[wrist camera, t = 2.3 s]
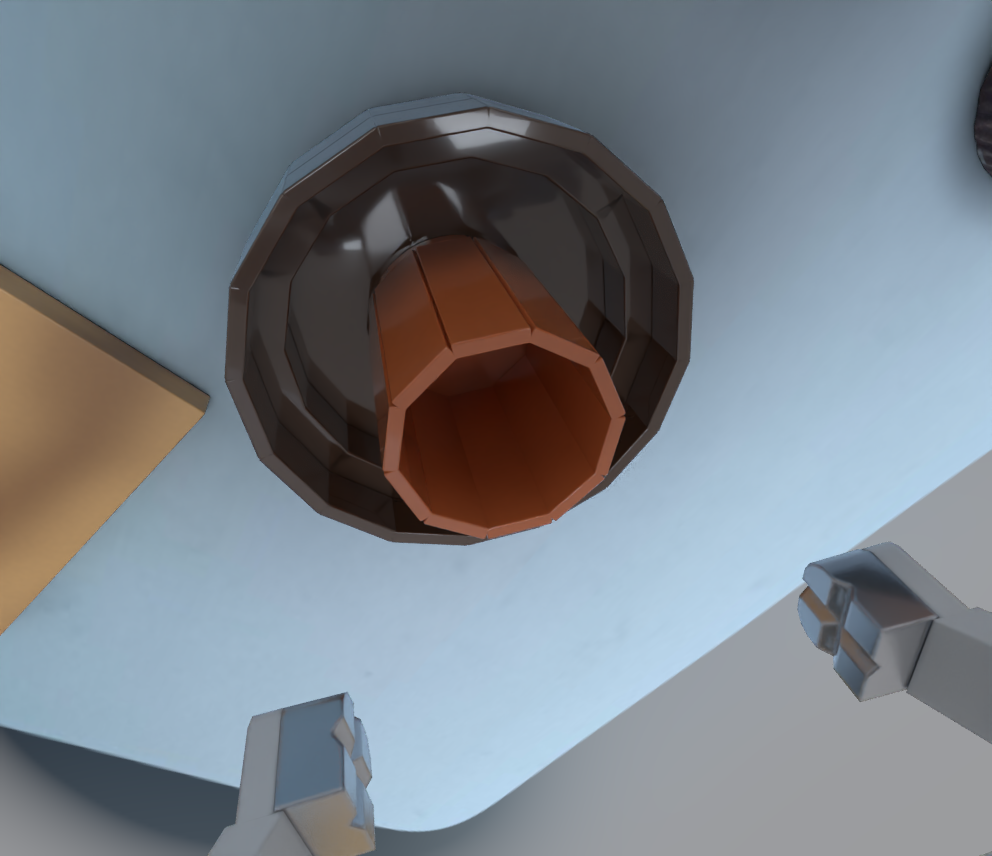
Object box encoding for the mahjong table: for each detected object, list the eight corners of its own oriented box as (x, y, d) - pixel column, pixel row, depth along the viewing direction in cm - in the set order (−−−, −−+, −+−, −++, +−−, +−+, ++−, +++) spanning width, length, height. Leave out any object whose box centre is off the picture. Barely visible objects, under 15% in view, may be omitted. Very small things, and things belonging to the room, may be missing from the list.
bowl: (173, 139, 18) (132, 169, 14) (634, 59, 19) (705, 67, 16) (315, 505, 26) (312, 585, 22) (636, 428, 27) (684, 491, 24)
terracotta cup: (345, 254, 20) (351, 365, 14) (531, 217, 21) (624, 306, 14) (387, 410, 24) (408, 560, 17) (547, 374, 24) (627, 504, 18)
